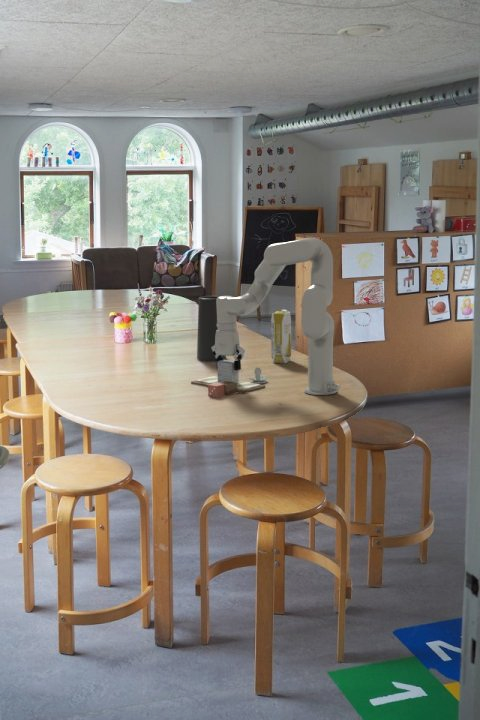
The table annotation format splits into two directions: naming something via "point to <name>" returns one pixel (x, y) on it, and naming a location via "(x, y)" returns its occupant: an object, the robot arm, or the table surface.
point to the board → (241, 385)
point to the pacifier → (258, 377)
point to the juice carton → (281, 336)
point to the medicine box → (227, 371)
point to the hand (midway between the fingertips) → (228, 368)
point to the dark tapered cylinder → (207, 328)
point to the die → (216, 390)
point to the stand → (229, 387)
